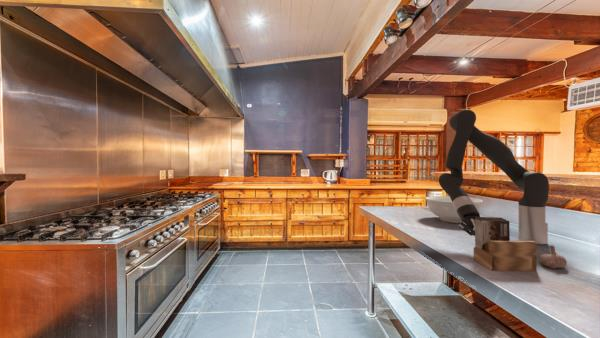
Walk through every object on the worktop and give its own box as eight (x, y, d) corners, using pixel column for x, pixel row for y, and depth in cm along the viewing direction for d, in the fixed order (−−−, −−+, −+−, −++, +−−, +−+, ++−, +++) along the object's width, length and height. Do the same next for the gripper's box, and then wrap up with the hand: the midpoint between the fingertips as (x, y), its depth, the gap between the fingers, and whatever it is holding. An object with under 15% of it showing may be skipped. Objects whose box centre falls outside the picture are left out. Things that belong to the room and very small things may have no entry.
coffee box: (501, 258, 94) (501, 217, 94) (510, 264, 88) (510, 220, 87) (474, 255, 96) (474, 216, 96) (481, 262, 90) (481, 219, 90)
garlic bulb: (551, 271, 82) (551, 248, 82) (532, 262, 90) (532, 241, 90) (574, 271, 82) (574, 248, 82) (553, 262, 89) (553, 241, 89)
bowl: (419, 221, 157) (419, 199, 157) (431, 213, 182) (431, 194, 181) (480, 229, 136) (480, 203, 136) (484, 219, 160) (484, 197, 160)
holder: (513, 260, 92) (513, 234, 92) (536, 270, 82) (536, 242, 82) (473, 260, 92) (473, 234, 92) (492, 270, 83) (492, 241, 83)
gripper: (454, 203, 105) (472, 239, 93) (484, 203, 105) (507, 240, 93) (447, 213, 111) (464, 248, 99) (476, 213, 110) (496, 248, 98)
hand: (485, 244), depth 96 cm, fingers closed
